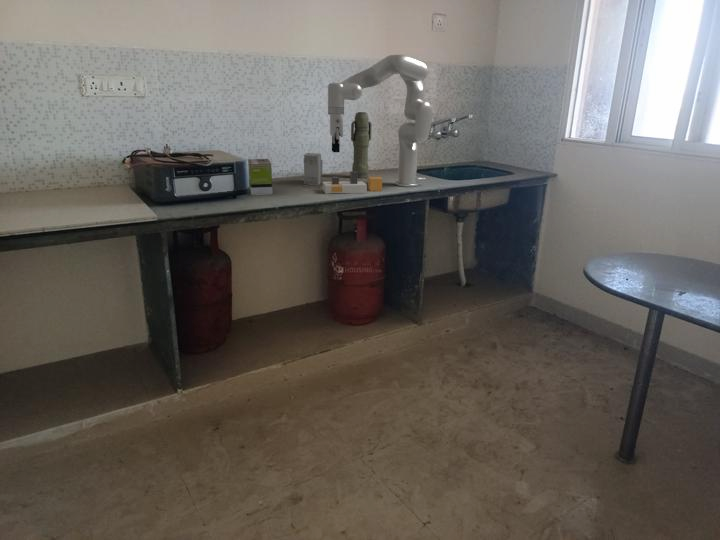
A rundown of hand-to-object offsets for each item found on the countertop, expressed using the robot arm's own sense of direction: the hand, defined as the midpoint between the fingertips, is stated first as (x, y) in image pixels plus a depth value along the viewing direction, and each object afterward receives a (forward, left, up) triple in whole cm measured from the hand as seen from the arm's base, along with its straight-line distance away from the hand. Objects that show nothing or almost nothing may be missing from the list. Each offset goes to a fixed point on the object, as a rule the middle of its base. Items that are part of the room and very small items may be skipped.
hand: (335, 151), depth 248 cm
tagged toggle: (0, 0, -19) cm, 19 cm away
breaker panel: (-4, 0, -19) cm, 20 cm away
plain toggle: (-9, 0, -17) cm, 19 cm away
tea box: (+36, -2, -19) cm, 40 cm away
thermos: (-20, -39, -19) cm, 48 cm away
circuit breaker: (+8, -25, -19) cm, 32 cm away
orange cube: (-20, -3, -19) cm, 28 cm away
